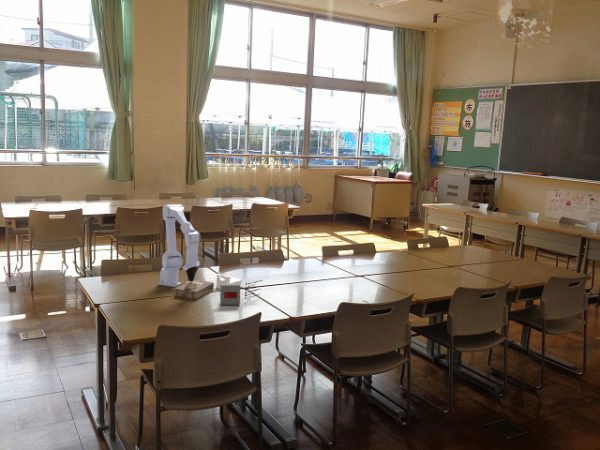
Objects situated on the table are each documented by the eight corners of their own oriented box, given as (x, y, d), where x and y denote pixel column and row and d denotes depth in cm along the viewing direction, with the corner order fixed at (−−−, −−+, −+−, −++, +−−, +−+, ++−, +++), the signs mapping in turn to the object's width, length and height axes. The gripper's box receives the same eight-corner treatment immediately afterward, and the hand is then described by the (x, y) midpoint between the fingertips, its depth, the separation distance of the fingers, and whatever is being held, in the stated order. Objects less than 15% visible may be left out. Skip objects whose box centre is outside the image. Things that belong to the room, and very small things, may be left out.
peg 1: (185, 289, 287) (185, 282, 286) (188, 287, 291) (189, 280, 290) (192, 290, 286) (192, 283, 285) (195, 288, 290) (196, 281, 289)
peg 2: (193, 290, 297) (194, 283, 296) (197, 288, 301) (197, 281, 300) (200, 291, 296) (201, 284, 295) (204, 289, 300) (204, 282, 299)
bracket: (226, 290, 303) (227, 277, 301) (216, 287, 306) (216, 274, 305) (241, 286, 314) (241, 272, 312) (231, 283, 317) (232, 270, 316)
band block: (175, 296, 286) (175, 288, 285) (193, 286, 305) (193, 279, 304) (196, 299, 282) (196, 291, 282) (213, 289, 302) (213, 282, 301)
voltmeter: (228, 308, 272) (229, 289, 270) (212, 303, 279) (213, 284, 277) (265, 298, 292) (266, 280, 291) (249, 293, 299) (250, 275, 298)
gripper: (192, 259, 277) (191, 285, 280) (205, 253, 291) (204, 278, 293) (179, 257, 279) (178, 283, 281) (193, 251, 293) (192, 277, 295)
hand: (191, 281), depth 288 cm, fingers closed
